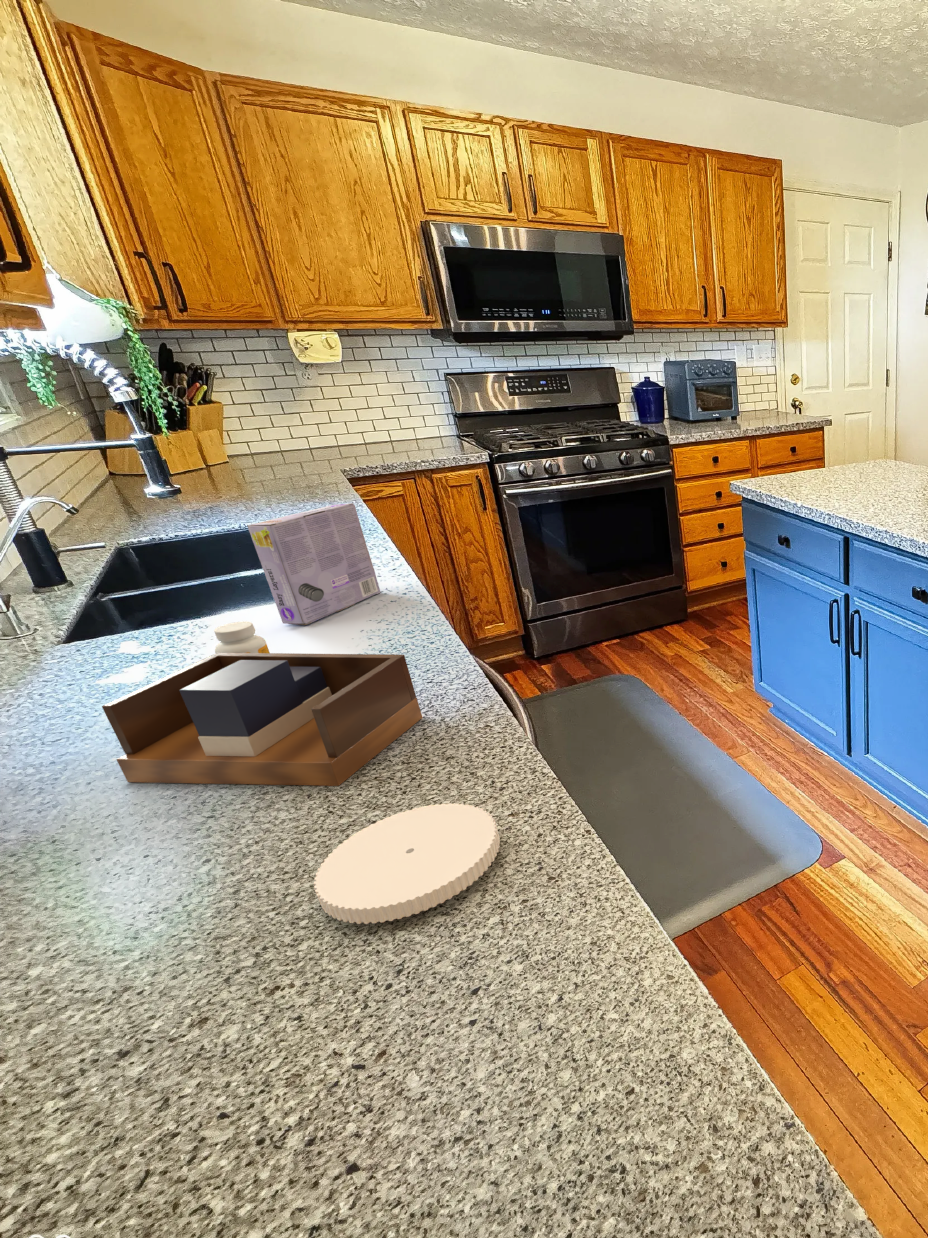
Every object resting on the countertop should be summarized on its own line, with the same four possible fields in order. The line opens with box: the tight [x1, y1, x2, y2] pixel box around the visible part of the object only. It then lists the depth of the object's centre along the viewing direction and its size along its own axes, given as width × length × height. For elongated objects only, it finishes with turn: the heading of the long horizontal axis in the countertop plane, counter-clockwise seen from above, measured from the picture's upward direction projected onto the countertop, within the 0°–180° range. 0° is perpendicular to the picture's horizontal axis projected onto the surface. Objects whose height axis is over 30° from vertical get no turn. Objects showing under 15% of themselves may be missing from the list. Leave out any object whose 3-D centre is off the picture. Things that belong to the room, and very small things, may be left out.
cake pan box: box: [247, 502, 381, 626], centre depth 124 cm, size 19×5×18 cm, turn 174°
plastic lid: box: [313, 802, 501, 925], centre depth 62 cm, size 14×14×2 cm
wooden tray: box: [101, 652, 423, 787], centre depth 81 cm, size 24×15×9 cm, turn 88°
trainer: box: [179, 660, 332, 757], centre depth 80 cm, size 12×6×8 cm, turn 178°
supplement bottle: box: [213, 620, 271, 654], centre depth 95 cm, size 5×5×10 cm
